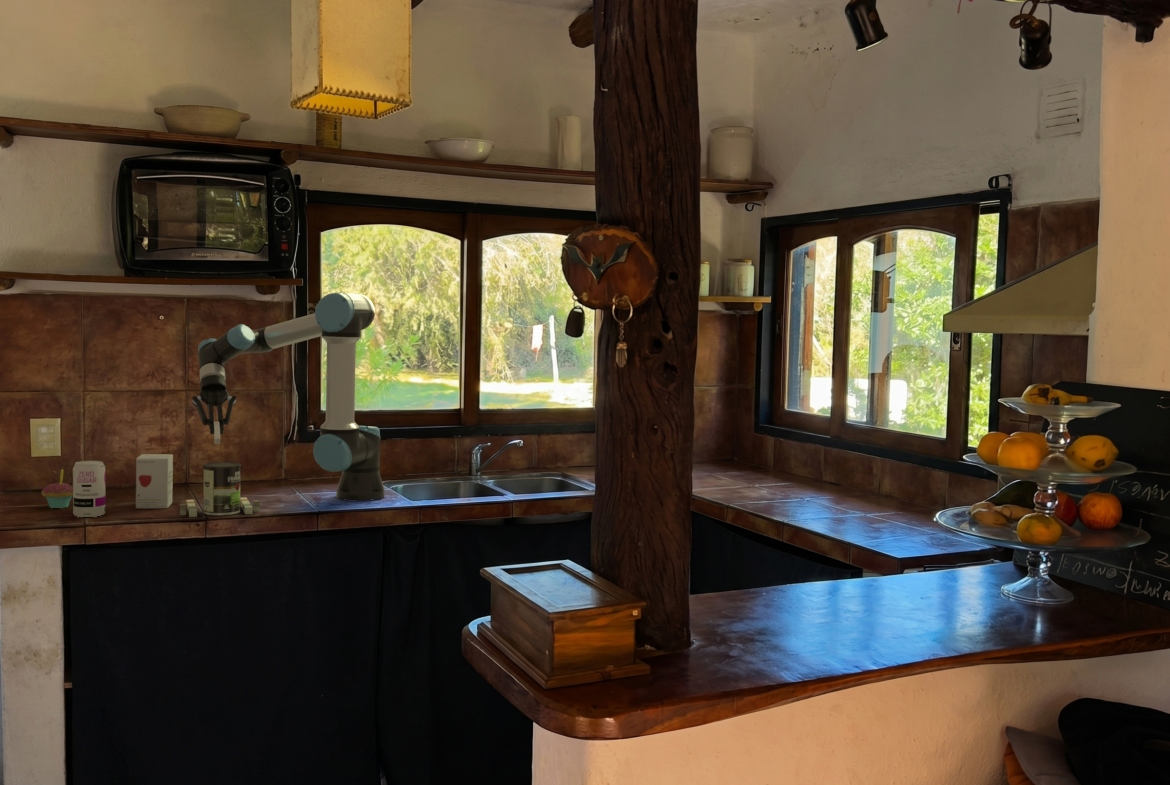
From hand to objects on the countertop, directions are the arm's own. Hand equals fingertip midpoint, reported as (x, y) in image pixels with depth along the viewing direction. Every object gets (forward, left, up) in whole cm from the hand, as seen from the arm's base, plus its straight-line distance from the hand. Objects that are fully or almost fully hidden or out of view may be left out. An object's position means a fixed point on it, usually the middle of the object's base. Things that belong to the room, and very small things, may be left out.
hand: (217, 441), depth 304 cm
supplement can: (+33, +11, -20) cm, 40 cm away
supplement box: (+18, -2, -20) cm, 27 cm away
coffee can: (-2, +9, -20) cm, 22 cm away
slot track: (-1, +6, -19) cm, 21 cm away
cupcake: (+44, -2, -20) cm, 48 cm away
